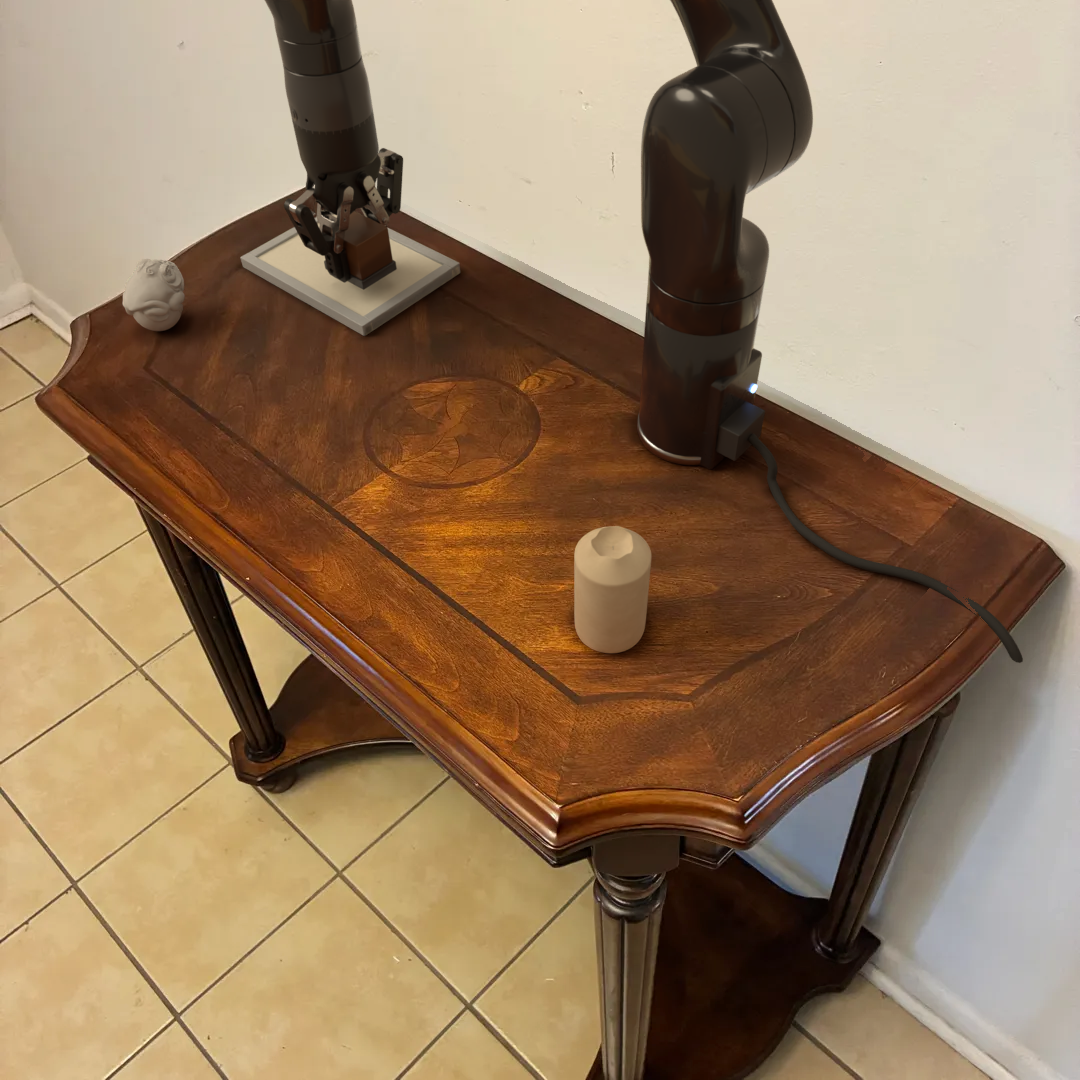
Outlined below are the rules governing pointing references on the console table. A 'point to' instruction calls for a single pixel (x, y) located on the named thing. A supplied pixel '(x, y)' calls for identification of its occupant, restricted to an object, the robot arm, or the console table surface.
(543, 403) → the console table surface
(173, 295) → the frog figurine
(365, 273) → the eraser
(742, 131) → the robot arm
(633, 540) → the candle
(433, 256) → the whiteboard
